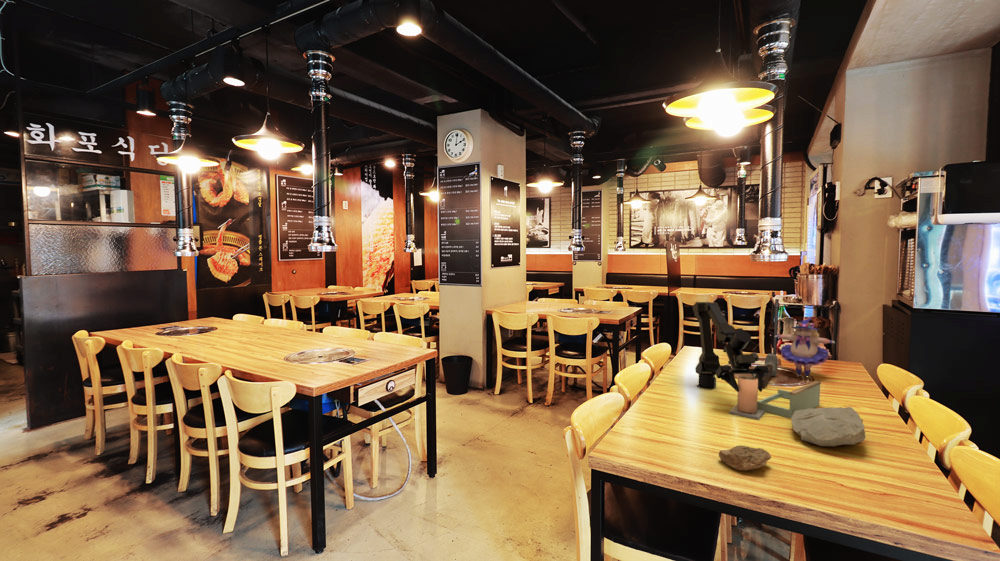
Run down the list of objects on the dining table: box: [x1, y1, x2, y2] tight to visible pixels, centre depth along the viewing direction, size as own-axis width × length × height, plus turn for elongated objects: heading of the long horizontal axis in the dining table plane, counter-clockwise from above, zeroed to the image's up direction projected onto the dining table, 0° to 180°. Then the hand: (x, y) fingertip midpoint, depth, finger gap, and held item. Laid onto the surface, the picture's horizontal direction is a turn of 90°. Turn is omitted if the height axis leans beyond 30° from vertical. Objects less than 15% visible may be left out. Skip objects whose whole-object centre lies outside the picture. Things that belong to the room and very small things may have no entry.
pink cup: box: [736, 375, 759, 413], centre depth 176 cm, size 7×7×12 cm
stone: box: [790, 406, 866, 447], centre depth 155 cm, size 33×9×20 cm
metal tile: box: [728, 404, 766, 421], centre depth 176 cm, size 10×10×1 cm
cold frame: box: [757, 380, 822, 419], centre depth 184 cm, size 15×25×10 cm, turn 126°
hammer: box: [762, 353, 779, 390], centre depth 220 cm, size 5×11×30 cm
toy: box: [774, 317, 836, 377], centre depth 227 cm, size 25×21×30 cm
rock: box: [718, 445, 772, 471], centre depth 133 cm, size 13×11×5 cm
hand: (749, 391), depth 175 cm, fingers open, 8 cm apart
